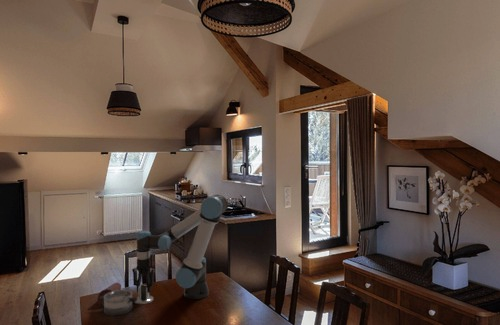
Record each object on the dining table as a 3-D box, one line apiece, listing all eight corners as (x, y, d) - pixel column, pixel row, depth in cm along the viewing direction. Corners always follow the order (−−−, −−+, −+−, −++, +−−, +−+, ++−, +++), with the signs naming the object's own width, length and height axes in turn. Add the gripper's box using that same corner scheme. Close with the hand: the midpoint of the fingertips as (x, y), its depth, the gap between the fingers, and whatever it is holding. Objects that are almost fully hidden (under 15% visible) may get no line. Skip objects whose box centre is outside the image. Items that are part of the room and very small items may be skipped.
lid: (156, 297, 207) (156, 282, 207) (148, 305, 196) (148, 289, 196) (139, 296, 209) (139, 281, 209) (130, 303, 198) (130, 288, 198)
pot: (142, 305, 196) (142, 291, 195) (129, 316, 181) (129, 301, 181) (108, 303, 199) (108, 288, 199) (92, 314, 184) (92, 298, 184)
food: (115, 305, 196) (114, 289, 196) (97, 306, 195) (97, 290, 195) (122, 291, 217) (122, 277, 217) (106, 292, 216) (106, 277, 216)
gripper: (160, 256, 205) (160, 296, 205) (133, 255, 207) (133, 294, 208) (154, 260, 197) (154, 301, 197) (126, 259, 200) (126, 299, 200)
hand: (143, 297), depth 203 cm, fingers open, 4 cm apart
